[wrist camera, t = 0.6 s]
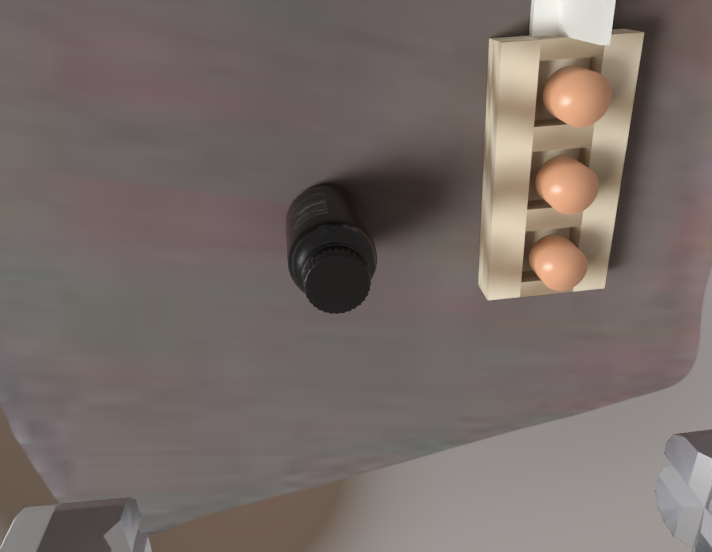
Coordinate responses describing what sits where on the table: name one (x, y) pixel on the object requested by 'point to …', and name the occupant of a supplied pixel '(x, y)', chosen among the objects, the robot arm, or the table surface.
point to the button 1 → (558, 262)
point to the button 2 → (577, 95)
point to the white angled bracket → (573, 19)
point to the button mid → (567, 184)
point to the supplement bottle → (330, 249)
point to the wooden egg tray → (549, 157)
